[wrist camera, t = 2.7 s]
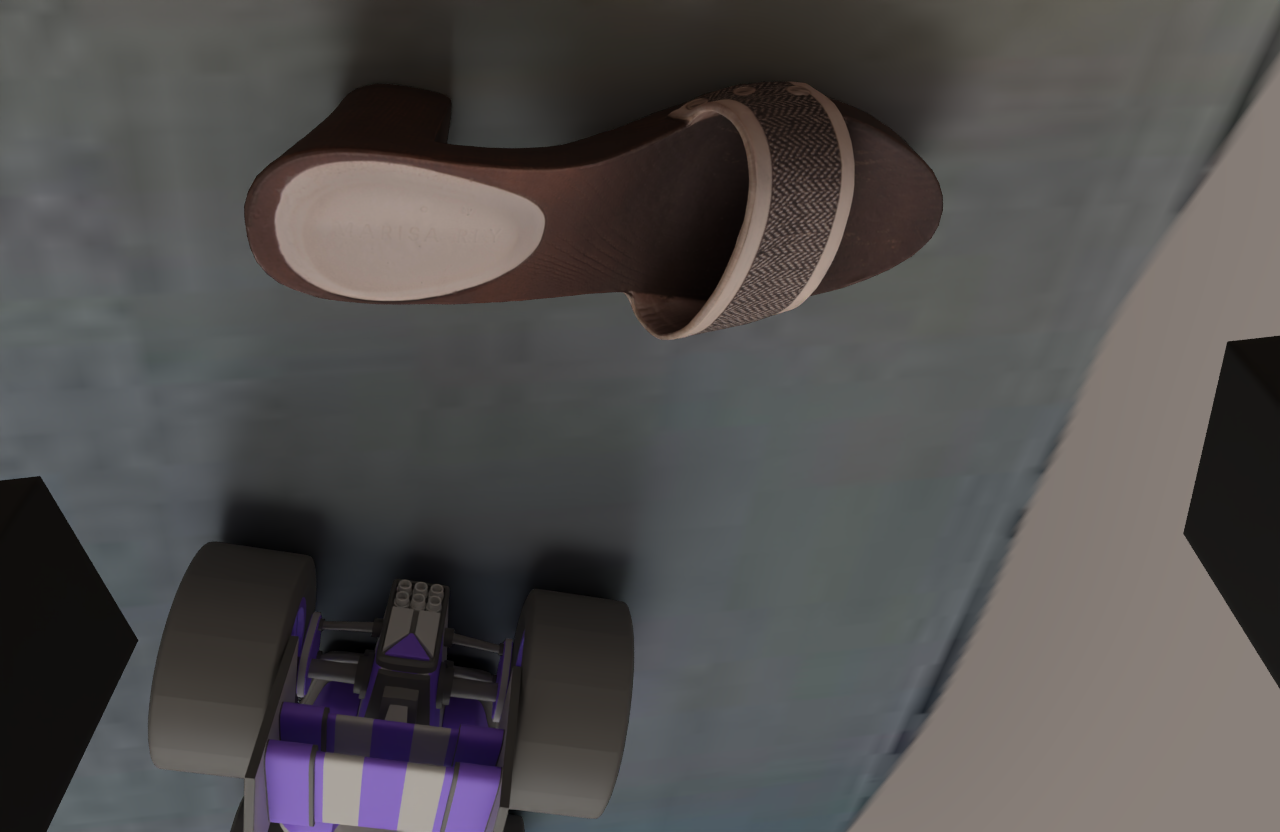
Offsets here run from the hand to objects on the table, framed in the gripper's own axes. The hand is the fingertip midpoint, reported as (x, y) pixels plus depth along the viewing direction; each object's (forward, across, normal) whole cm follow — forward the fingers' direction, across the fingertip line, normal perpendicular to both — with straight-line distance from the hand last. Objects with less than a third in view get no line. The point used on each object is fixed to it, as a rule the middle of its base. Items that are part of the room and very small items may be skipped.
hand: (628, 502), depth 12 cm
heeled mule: (+9, 0, 0) cm, 9 cm away
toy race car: (+9, -8, -15) cm, 19 cm away
